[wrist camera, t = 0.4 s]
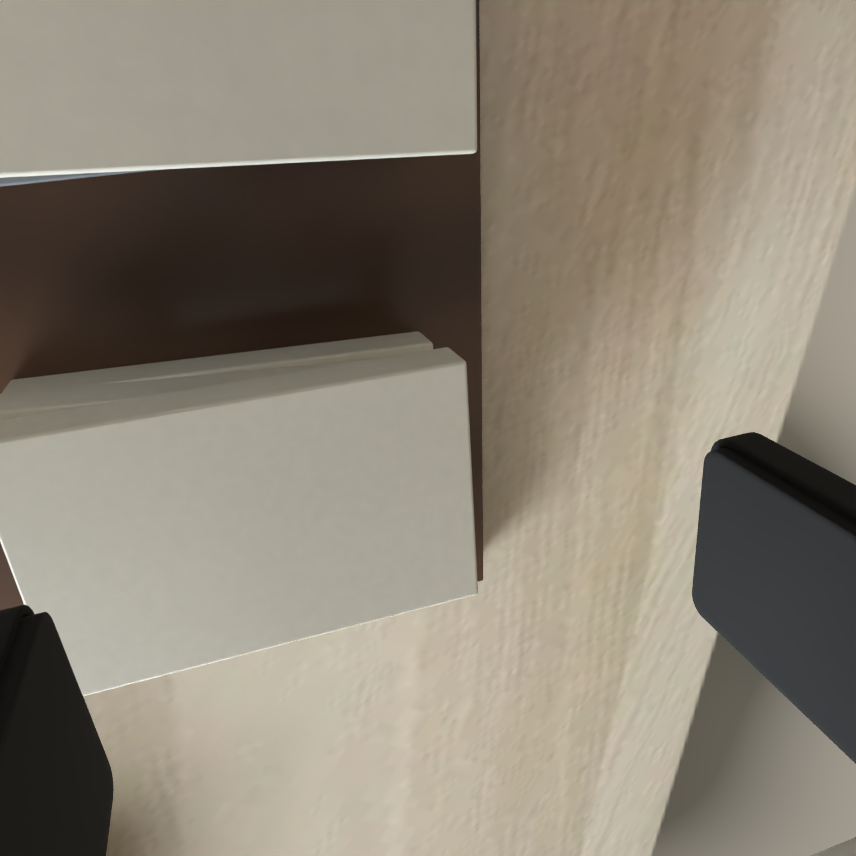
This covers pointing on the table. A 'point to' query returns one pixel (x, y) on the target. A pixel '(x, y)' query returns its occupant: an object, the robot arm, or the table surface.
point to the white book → (232, 82)
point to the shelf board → (243, 268)
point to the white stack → (236, 500)
